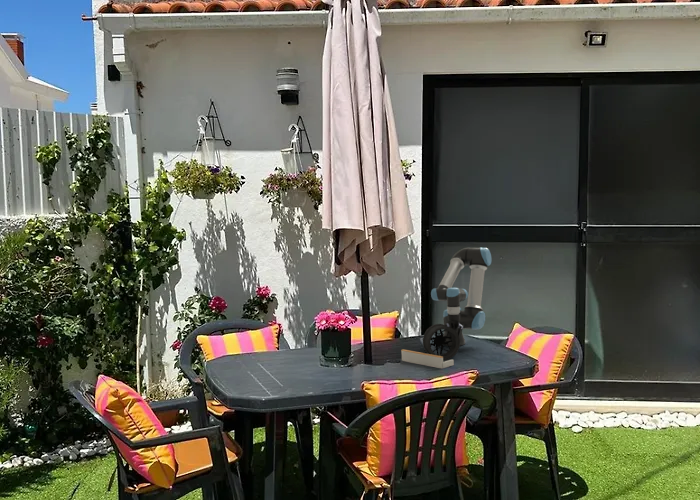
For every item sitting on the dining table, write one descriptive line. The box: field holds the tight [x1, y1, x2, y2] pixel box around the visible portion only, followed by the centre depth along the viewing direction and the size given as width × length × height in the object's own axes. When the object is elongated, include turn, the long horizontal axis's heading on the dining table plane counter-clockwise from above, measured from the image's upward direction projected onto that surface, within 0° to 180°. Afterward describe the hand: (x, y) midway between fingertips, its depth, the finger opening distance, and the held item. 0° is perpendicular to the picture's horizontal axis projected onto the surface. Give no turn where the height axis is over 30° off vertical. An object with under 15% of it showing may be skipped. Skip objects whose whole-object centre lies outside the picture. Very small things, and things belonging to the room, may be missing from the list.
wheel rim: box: [422, 323, 461, 361], centre depth 382 cm, size 20×9×20 cm, turn 104°
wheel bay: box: [400, 349, 455, 369], centre depth 374 cm, size 10×31×7 cm, turn 41°
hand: (455, 352), depth 391 cm, fingers closed
